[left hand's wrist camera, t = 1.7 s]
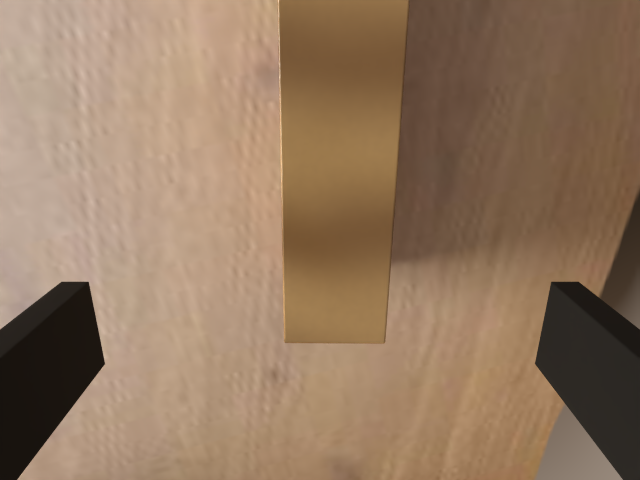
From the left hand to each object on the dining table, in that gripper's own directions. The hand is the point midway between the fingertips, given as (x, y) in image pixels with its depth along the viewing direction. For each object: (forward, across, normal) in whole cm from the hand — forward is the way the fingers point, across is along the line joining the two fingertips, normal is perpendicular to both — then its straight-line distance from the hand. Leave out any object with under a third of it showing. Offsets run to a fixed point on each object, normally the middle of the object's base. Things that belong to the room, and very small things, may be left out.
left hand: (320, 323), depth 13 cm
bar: (+14, -1, -7) cm, 16 cm away
